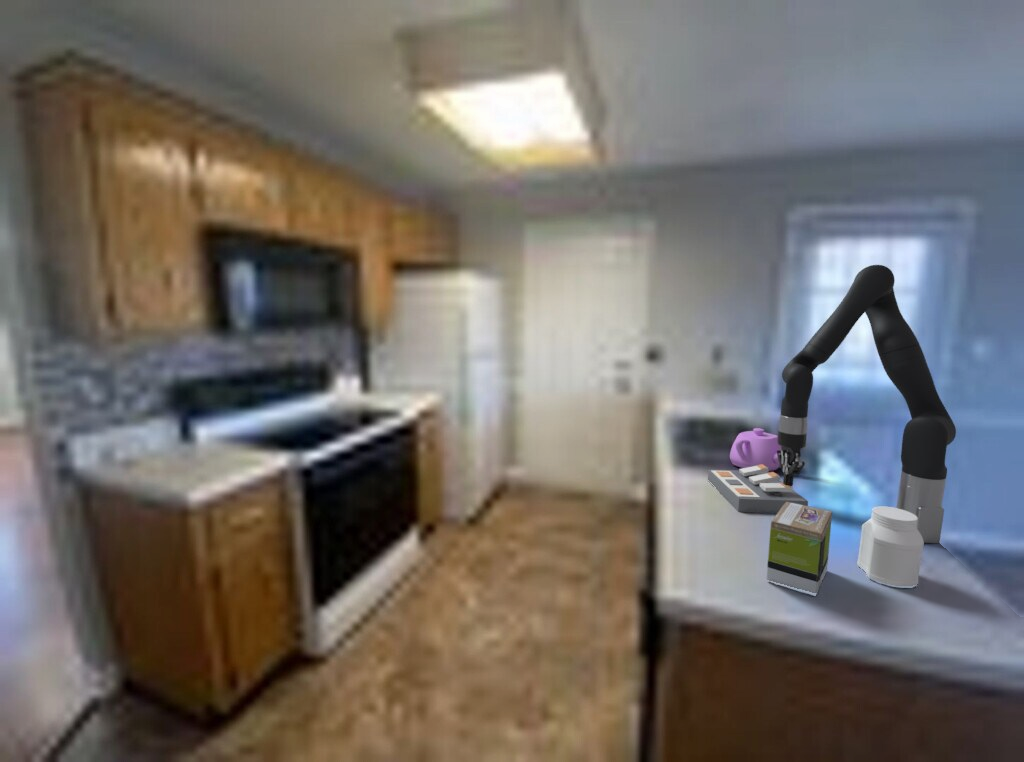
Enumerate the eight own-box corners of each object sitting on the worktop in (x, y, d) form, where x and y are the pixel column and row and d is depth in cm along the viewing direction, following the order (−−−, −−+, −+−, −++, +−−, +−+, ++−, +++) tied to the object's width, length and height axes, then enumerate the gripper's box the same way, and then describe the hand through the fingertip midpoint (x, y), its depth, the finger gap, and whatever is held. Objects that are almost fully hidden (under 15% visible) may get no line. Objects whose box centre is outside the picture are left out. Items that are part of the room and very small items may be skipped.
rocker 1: (768, 471, 169) (768, 467, 169) (744, 476, 170) (743, 472, 169) (763, 467, 173) (762, 463, 173) (739, 472, 174) (738, 468, 173)
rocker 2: (780, 479, 161) (779, 475, 161) (754, 484, 162) (753, 480, 162) (774, 475, 165) (773, 471, 165) (749, 480, 166) (748, 476, 166)
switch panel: (806, 513, 151) (808, 498, 150) (738, 511, 151) (739, 496, 151) (765, 482, 177) (767, 469, 177) (707, 480, 178) (708, 467, 177)
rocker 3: (792, 491, 153) (792, 487, 153) (765, 491, 154) (765, 486, 154) (786, 486, 157) (786, 482, 157) (759, 486, 158) (759, 482, 157)
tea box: (780, 557, 124) (786, 499, 122) (827, 571, 118) (834, 510, 116) (764, 582, 113) (770, 519, 111) (816, 599, 107) (824, 532, 104)
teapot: (715, 466, 195) (718, 427, 192) (749, 458, 205) (752, 421, 203) (772, 484, 175) (776, 442, 173) (806, 474, 186) (810, 434, 184)
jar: (852, 560, 123) (859, 501, 121) (898, 565, 121) (906, 505, 119) (873, 585, 112) (881, 521, 110) (923, 592, 110) (933, 526, 108)
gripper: (817, 436, 146) (811, 493, 149) (794, 424, 159) (789, 477, 162) (790, 436, 146) (785, 493, 149) (769, 424, 159) (765, 477, 162)
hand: (787, 485), depth 155 cm, fingers closed
